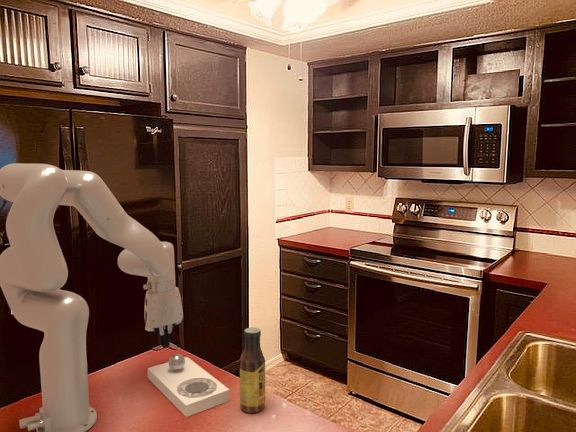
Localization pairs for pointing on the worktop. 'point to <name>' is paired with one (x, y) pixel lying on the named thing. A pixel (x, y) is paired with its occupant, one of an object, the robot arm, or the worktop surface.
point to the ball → (176, 362)
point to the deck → (189, 387)
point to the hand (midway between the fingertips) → (164, 345)
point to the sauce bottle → (252, 373)
